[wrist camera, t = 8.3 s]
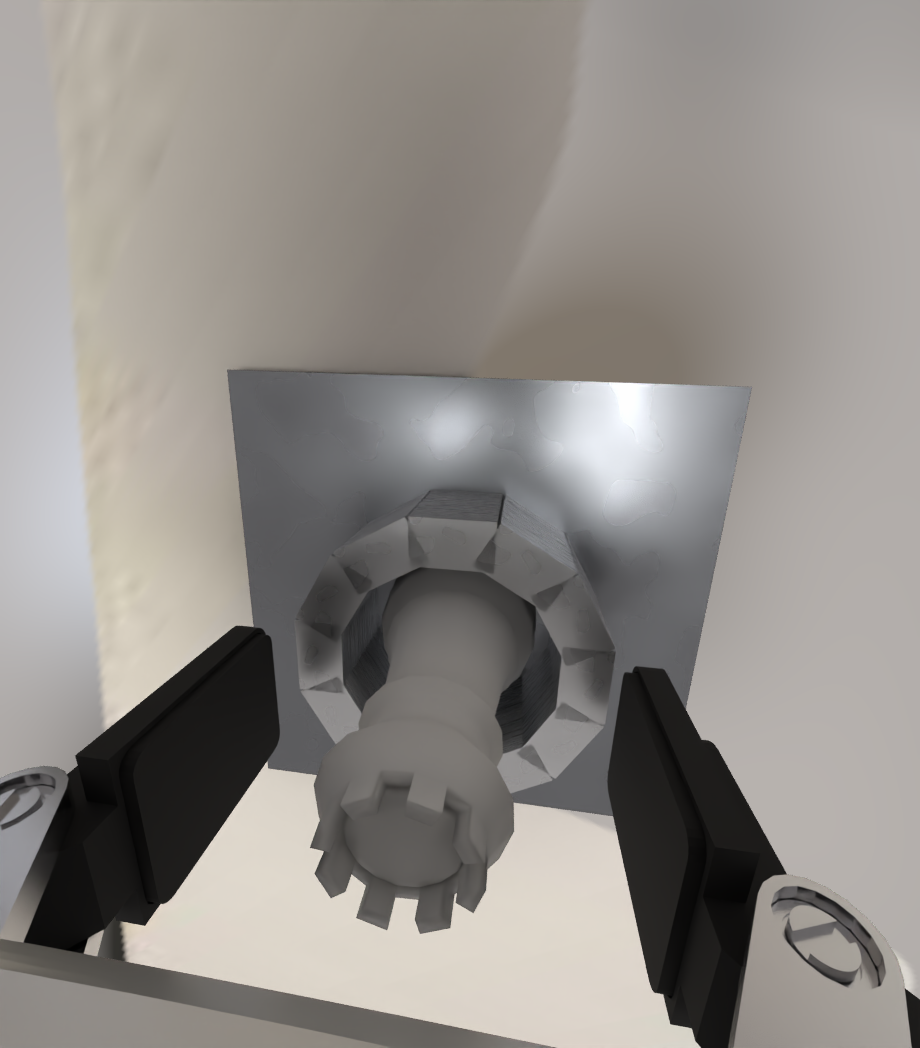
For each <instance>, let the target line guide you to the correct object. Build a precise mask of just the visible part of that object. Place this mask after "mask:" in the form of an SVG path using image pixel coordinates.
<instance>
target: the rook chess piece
mask: <svg viewBox="0 0 920 1048" xmlns="http://www.w3.org/2000/svg"><path fill="white" fill-rule="evenodd" d="M382 628H383V638H384V648H385V650H386V652H387V654H388V661H389V663H390V667H389V671H388V675H387V680H386V684H385V685H383V686H382V687H381V688H380V689H379V690H378V691H377V692H376V693H375V694H374V695H373V696H372V697H371V698H369V699H368V700H367V701H366V703H365V706H364V709H363V712H362V715H361V717H360V720H359V723H358V725H359V730H358V731H355V732H351V733H348V734H347V735H346V736H345V737H344V738H343V739H342V740H340V741H339V742H338V743H337V744H336V745H335V746H334V747H333V748H332V749H331V750H330V751H329V752H327V753H326V754H325V755H324V756H323V759H322V762H321V765H320V768H319V771H318V774H317V777H316V780H315V783H314V789H315V796H316V802H317V808H318V814H319V818H320V822H319V824H318V827H317V830H316V832H315V835H314V838H313V841H312V844H311V847H310V848H314V849H318V850H322V851H324V853H323V855H322V858H321V860H320V862H319V865H318V867H317V869H316V872H315V875H316V877H317V878H318V880H319V881H320V883H321V884H322V886H323V887H324V889H325V890H326V892H327V893H328V895H329V896H330V898H332V897H335V896H337V895H339V894H341V893H344V892H345V891H346V889H347V886H348V883H349V880H350V877H351V874H352V875H353V876H355V877H356V878H357V879H358V880H360V881H361V882H362V883H363V884H365V885H366V888H365V891H364V894H363V898H362V901H361V904H360V907H359V911H358V914H357V917H356V918H358V919H360V920H363V921H365V922H368V923H370V924H373V925H375V926H378V927H380V928H383V929H385V930H387V929H388V925H389V921H390V917H391V913H392V909H393V905H394V901H395V897H397V898H407V899H417V900H419V901H418V906H417V911H416V916H415V921H416V924H417V927H418V930H419V932H420V934H422V933H427V932H432V931H437V930H442V929H448V928H450V925H451V917H452V909H453V901H454V894H456V893H457V898H456V903H457V904H459V905H461V906H462V907H464V908H466V909H467V910H469V911H471V912H473V913H474V911H475V909H476V907H477V905H478V904H479V902H480V900H481V898H482V896H483V895H484V893H485V891H486V880H487V869H488V868H489V867H490V866H492V865H493V864H494V863H495V862H496V861H497V860H498V859H499V858H500V856H501V854H502V852H503V850H504V849H505V847H506V845H507V843H508V841H509V839H510V838H511V836H512V834H513V832H514V804H513V797H512V795H511V793H510V791H509V790H508V788H507V786H506V784H505V782H504V780H503V778H502V776H501V774H500V772H499V770H498V768H497V766H498V764H499V762H500V760H501V758H502V756H503V744H502V729H501V728H500V726H499V724H498V722H497V720H496V718H495V713H496V710H497V706H498V702H499V699H500V695H501V693H502V692H503V691H504V690H506V689H507V688H508V687H509V686H510V684H511V683H512V682H514V681H515V680H516V679H517V678H518V677H520V675H521V673H522V671H523V669H524V667H525V664H526V662H527V660H528V658H529V656H530V654H531V652H532V650H533V648H534V633H535V631H536V607H535V606H534V605H533V604H531V603H530V602H528V601H526V600H525V599H523V598H522V597H520V596H519V595H517V594H515V593H514V592H512V591H511V590H509V589H508V588H506V587H505V586H503V585H501V584H500V583H498V582H497V581H495V580H494V579H492V578H490V577H489V576H487V575H486V574H484V573H483V572H473V571H461V570H449V569H437V568H425V567H419V568H417V569H415V570H413V571H410V572H408V573H406V574H404V575H402V576H400V577H398V578H396V580H395V583H394V586H393V588H392V589H391V591H390V594H389V597H388V600H387V603H386V606H385V609H384V612H383V615H382Z"/></svg>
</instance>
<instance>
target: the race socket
mask: <svg viewBox="0 0 920 1048" xmlns="http://www.w3.org/2000/svg"><path fill="white" fill-rule="evenodd" d="M227 372H228V382H229V392H230V402H231V411H232V421H233V431H234V440H235V450H236V460H237V469H238V479H239V489H240V498H241V508H242V518H243V527H244V537H245V547H246V557H247V566H248V576H249V586H250V595H251V605H252V615H253V624H254V627H256V628H262V629H263V630H264V631H265V633H266V635H269V636H270V637H271V640H272V649H273V659H274V670H275V681H276V692H277V703H278V714H279V725H280V737H279V741H278V744H277V747H276V749H275V750H274V752H273V753H272V755H271V756H270V758H269V759H268V768H270V769H277V770H284V771H292V772H299V773H306V774H313V775H317V774H318V771H319V768H320V765H321V762H322V759H323V756H324V755H325V754H326V753H327V752H329V751H330V750H331V749H332V748H333V747H334V746H335V745H336V744H337V743H338V742H339V741H340V740H342V739H343V738H344V737H345V736H346V735H347V734H348V733H351V732H355V731H358V730H359V725H358V723H359V720H360V717H361V715H362V712H363V709H364V706H365V703H366V701H367V700H368V699H369V698H371V697H372V696H373V695H374V694H375V693H376V692H377V691H378V690H379V689H380V688H381V687H382V686H383V685H385V684H386V680H387V675H388V671H389V667H390V663H389V661H388V654H387V652H386V650H385V648H384V638H383V628H382V615H383V612H384V609H385V606H386V603H387V600H388V597H389V594H390V591H391V589H392V588H393V586H394V583H395V580H396V578H398V577H400V576H402V575H404V574H406V573H408V572H410V571H413V570H415V569H417V568H419V567H425V568H437V569H449V570H461V571H473V572H483V573H484V574H486V575H487V576H489V577H490V578H492V579H494V580H495V581H497V582H498V583H500V584H501V585H503V586H505V587H506V588H508V589H509V590H511V591H512V592H514V593H515V594H517V595H519V596H520V597H522V598H523V599H525V600H526V601H528V602H530V603H531V604H533V605H534V606H535V607H536V631H535V633H534V648H533V650H532V652H531V654H530V656H529V658H528V660H527V662H526V664H525V667H524V669H523V671H522V673H521V675H520V677H518V678H517V679H516V680H515V681H514V682H512V683H511V684H510V686H509V687H508V688H507V689H506V690H504V691H503V692H502V693H501V695H500V699H499V702H498V706H497V710H496V713H495V718H496V720H497V722H498V724H499V726H500V728H501V729H502V744H503V756H502V758H501V760H500V762H499V764H498V766H497V768H498V770H499V772H500V774H501V776H502V778H503V780H504V782H505V784H506V786H507V788H508V790H509V791H510V793H511V795H512V797H513V802H515V803H522V804H529V805H536V806H543V807H551V808H558V809H565V810H572V811H579V812H587V813H594V814H601V815H608V816H613V812H612V808H611V803H610V799H609V794H608V783H607V779H608V769H609V763H610V756H611V750H612V744H613V737H614V731H615V725H616V718H617V712H618V705H619V699H620V693H621V686H622V680H623V675H624V673H625V672H630V673H632V671H633V669H634V667H635V666H640V667H650V668H660V669H664V670H665V671H666V673H667V675H668V677H669V678H670V680H671V682H672V684H673V686H674V688H675V690H676V692H677V694H678V696H679V698H680V700H681V702H682V703H683V705H684V707H685V709H686V705H687V700H688V695H689V690H690V685H691V680H692V676H693V671H694V666H695V661H696V656H697V651H698V646H699V642H700V636H701V632H702V627H703V622H704V617H705V612H706V608H707V603H708V598H709V593H710V588H711V583H712V578H713V573H714V568H715V564H716V559H717V554H718V549H719V544H720V540H721V535H722V530H723V524H724V520H725V515H726V510H727V506H728V501H729V495H730V491H731V486H732V481H733V476H734V472H735V467H736V462H737V457H738V452H739V447H740V442H741V438H742V433H743V428H744V423H745V418H746V413H747V408H748V404H749V398H750V394H751V389H752V387H741V386H710V385H709V386H708V385H707V386H706V385H678V384H648V383H617V382H587V381H557V380H556V381H554V380H526V379H495V378H465V377H434V376H404V375H373V374H343V373H312V372H281V371H251V370H227Z"/></svg>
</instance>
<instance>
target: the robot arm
mask: <svg viewBox="0 0 920 1048" xmlns="http://www.w3.org/2000/svg"><path fill="white" fill-rule="evenodd" d="M279 737H280V725H279V714H278V703H277V692H276V681H275V670H274V659H273V649H272V640H271V637H270V636H269V635H266V633H265V631H264V630H263V629H262V628H256V627H247V626H235V627H234V628H232V629H231V630H230V631H228V632H227V633H226V634H225V635H223V636H222V637H221V638H220V639H219V640H217V641H216V642H215V643H214V644H212V645H211V646H210V647H209V648H207V649H206V650H205V651H204V652H202V653H201V654H200V655H199V656H198V657H196V658H195V659H194V660H193V661H191V662H190V663H189V664H188V665H186V666H185V667H184V668H183V669H182V670H180V671H179V672H178V673H177V674H175V675H174V676H173V677H172V678H170V679H169V680H168V681H167V682H165V683H164V684H163V685H162V686H161V687H159V688H158V689H157V690H156V691H154V692H153V693H152V694H151V695H149V696H148V697H147V698H146V699H144V700H143V701H142V702H141V703H140V704H138V705H137V706H136V707H135V708H133V709H132V710H131V711H130V712H128V713H127V714H126V715H125V716H124V717H122V718H121V719H120V720H119V721H117V722H116V723H115V724H114V725H112V726H111V727H110V728H109V729H107V730H106V731H105V732H104V733H103V734H101V735H100V736H99V737H98V738H96V739H95V740H94V741H93V742H92V743H90V744H89V745H88V746H87V747H85V748H84V749H83V750H82V751H80V752H79V753H78V754H77V755H76V760H77V764H78V766H77V767H76V768H74V769H73V770H72V771H71V772H69V773H68V774H66V772H65V771H64V770H62V769H60V768H58V767H50V766H40V767H34V768H27V769H24V770H21V771H18V772H14V773H11V774H8V775H6V776H4V777H1V778H0V1048H555V1047H550V1046H545V1045H540V1044H535V1043H530V1042H526V1041H521V1040H516V1039H511V1038H506V1037H501V1036H496V1035H491V1034H487V1033H482V1032H477V1031H472V1030H467V1029H462V1028H457V1027H452V1026H448V1025H443V1024H438V1023H433V1022H428V1021H423V1020H418V1019H413V1018H409V1017H404V1016H399V1015H394V1014H389V1013H384V1012H379V1011H374V1010H369V1009H364V1008H359V1007H354V1006H349V1005H344V1004H339V1003H334V1002H329V1001H323V1000H318V999H313V998H308V997H303V996H298V995H293V994H288V993H283V992H278V991H273V990H268V989H263V988H258V987H253V986H248V985H243V984H238V983H233V982H227V981H222V980H217V979H212V978H207V977H202V976H197V975H192V974H187V973H181V972H176V971H171V970H166V969H161V968H155V967H150V966H145V965H140V964H134V963H129V962H124V961H119V960H113V959H108V958H103V957H97V954H98V951H99V947H100V943H101V939H102V936H103V932H104V929H105V928H106V927H107V926H108V924H109V923H110V922H111V921H112V919H113V918H114V917H116V920H117V921H122V922H128V923H133V924H138V925H144V926H145V925H146V924H147V922H148V921H149V919H150V918H151V917H152V915H153V914H154V912H155V911H156V909H157V908H158V907H159V905H160V904H164V903H167V902H168V901H169V900H170V899H171V898H172V897H173V896H174V895H175V893H176V892H177V890H178V889H179V887H180V886H181V885H182V883H183V882H184V880H185V879H186V877H187V876H188V874H189V873H190V872H191V870H192V869H193V867H194V866H195V864H196V863H197V861H198V860H199V859H200V857H201V856H202V854H203V853H204V851H205V850H206V848H207V847H208V846H209V844H210V843H211V841H212V840H213V838H214V837H215V835H216V834H217V833H218V831H219V830H220V828H221V827H222V825H223V824H224V822H225V821H226V820H227V818H228V817H229V815H230V814H231V812H232V811H233V810H234V808H235V807H236V805H237V804H238V802H239V801H240V799H241V798H242V797H243V795H244V794H245V792H246V791H247V789H248V788H249V786H250V785H251V784H252V782H253V781H254V779H255V778H256V776H257V775H258V773H259V772H260V771H261V769H262V768H263V766H264V765H265V763H266V762H267V760H268V759H269V758H270V756H271V755H272V753H273V752H274V750H275V749H276V747H277V744H278V741H279ZM607 783H608V794H609V799H610V803H611V808H612V812H613V817H614V822H615V826H616V831H617V835H618V840H619V845H620V849H621V854H622V858H623V863H624V868H625V872H626V877H627V881H628V886H629V891H630V895H631V900H632V904H633V909H634V914H635V918H636V923H637V927H638V932H639V937H640V941H641V946H642V950H643V955H644V959H645V964H646V969H647V973H648V978H649V982H650V985H651V988H652V990H653V991H654V993H660V994H663V995H664V999H665V1003H666V1008H667V1012H668V1016H669V1020H670V1024H672V1025H678V1026H683V1027H688V1028H692V1030H693V1034H694V1037H695V1041H696V1042H697V1043H698V1044H699V1046H700V1047H701V1048H920V999H918V998H917V997H916V996H914V995H913V994H912V993H910V992H909V991H908V990H906V989H905V987H904V979H903V975H902V972H901V969H900V966H899V962H898V959H897V957H896V956H895V954H894V952H893V951H892V949H891V947H890V946H889V944H888V943H887V941H886V939H885V938H884V936H883V935H882V934H881V933H880V932H879V931H878V930H877V928H876V927H875V926H874V925H873V924H872V923H871V922H870V920H869V919H868V918H867V917H866V916H865V915H863V914H862V913H861V912H860V911H859V910H858V909H857V908H855V907H854V906H853V905H852V904H851V903H850V902H848V901H847V900H846V899H844V898H843V897H841V896H840V895H838V894H836V893H835V892H833V891H832V890H830V889H828V888H827V887H825V886H823V885H820V884H818V883H816V882H814V881H811V880H809V879H807V878H803V877H797V876H793V875H787V874H786V872H785V870H784V868H783V866H782V865H781V863H780V861H779V859H778V857H777V855H776V854H775V852H774V850H773V848H772V846H771V845H770V843H769V841H768V839H767V837H766V836H765V834H764V832H763V830H762V828H761V826H760V825H759V823H758V821H757V819H756V817H755V816H754V814H753V812H752V810H751V808H750V807H749V805H748V803H747V801H746V799H745V798H744V796H743V794H742V792H741V790H740V788H739V787H738V785H737V783H736V782H735V779H734V778H733V776H732V774H731V772H730V770H729V769H728V767H727V765H726V763H725V761H724V760H723V758H722V756H721V754H720V752H719V750H718V749H717V748H716V746H715V745H714V744H713V743H712V742H710V741H707V740H701V738H700V736H699V734H698V732H697V730H696V728H695V727H694V725H693V723H692V721H691V719H690V717H689V715H688V713H687V711H686V709H685V707H684V705H683V703H682V702H681V700H680V698H679V696H678V694H677V692H676V690H675V688H674V686H673V684H672V682H671V680H670V678H669V677H668V675H667V673H666V671H665V670H664V669H660V668H650V667H640V666H635V667H634V669H633V671H632V673H630V672H625V673H624V675H623V680H622V686H621V693H620V699H619V705H618V712H617V718H616V725H615V731H614V737H613V744H612V750H611V756H610V763H609V769H608V779H607Z"/></svg>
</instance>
